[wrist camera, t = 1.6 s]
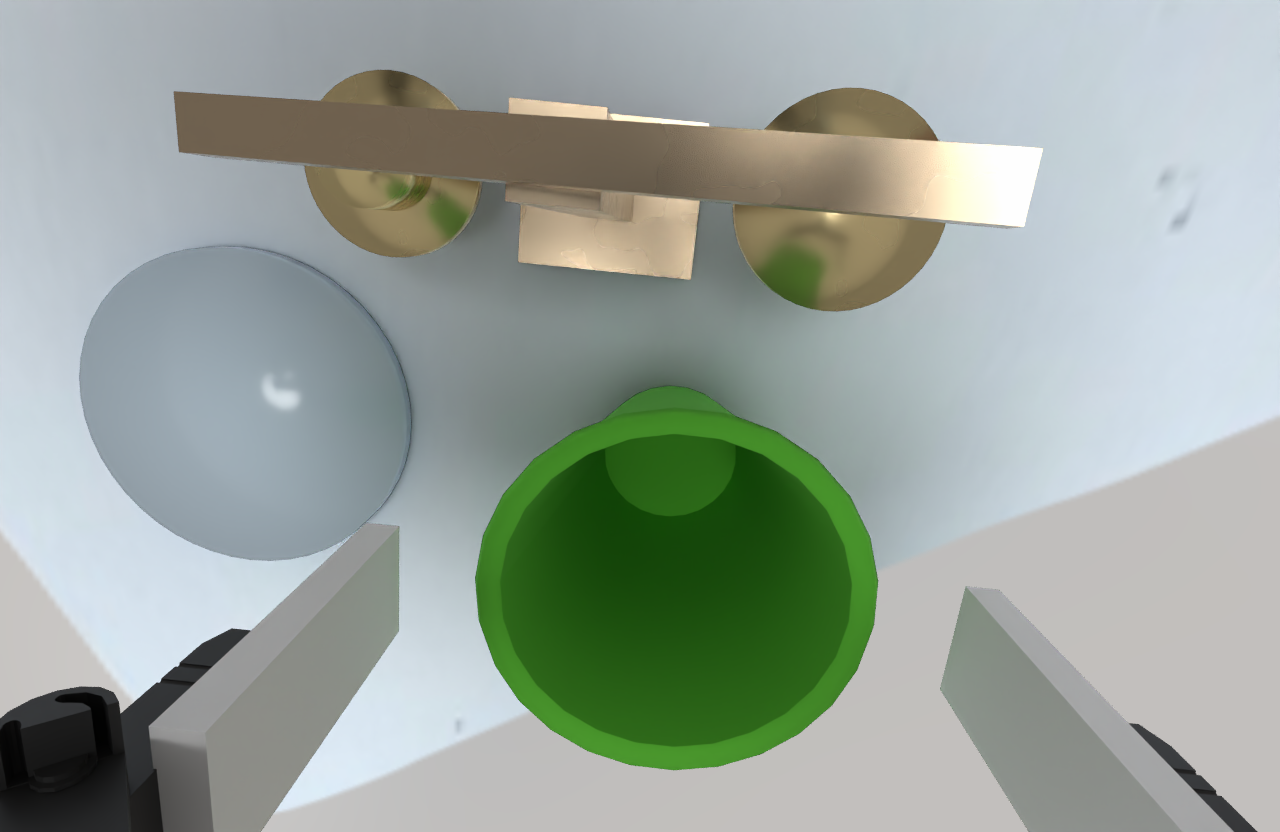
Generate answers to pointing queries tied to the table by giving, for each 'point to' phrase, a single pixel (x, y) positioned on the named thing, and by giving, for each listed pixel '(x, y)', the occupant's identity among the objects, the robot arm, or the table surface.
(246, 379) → the dish
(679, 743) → the cup
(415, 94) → the balance
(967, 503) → the table surface
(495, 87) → the table surface
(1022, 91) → the table surface
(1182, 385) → the table surface
